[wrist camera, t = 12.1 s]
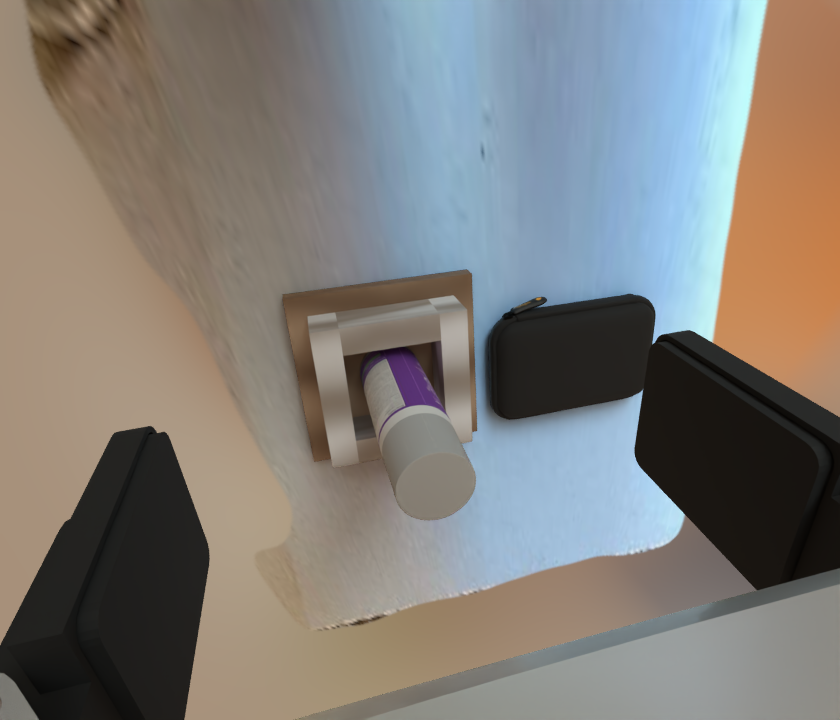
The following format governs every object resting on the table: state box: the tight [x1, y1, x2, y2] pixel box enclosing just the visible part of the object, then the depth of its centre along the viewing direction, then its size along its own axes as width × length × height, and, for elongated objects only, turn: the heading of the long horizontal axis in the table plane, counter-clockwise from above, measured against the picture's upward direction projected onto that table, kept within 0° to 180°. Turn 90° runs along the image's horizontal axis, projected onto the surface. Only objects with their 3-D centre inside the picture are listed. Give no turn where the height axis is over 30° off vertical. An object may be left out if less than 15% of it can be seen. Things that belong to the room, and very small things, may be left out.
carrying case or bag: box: [489, 294, 655, 420], centre depth 45 cm, size 11×3×15 cm
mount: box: [283, 270, 477, 468], centre depth 40 cm, size 14×14×5 cm
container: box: [360, 346, 476, 520], centre depth 35 cm, size 5×5×15 cm
